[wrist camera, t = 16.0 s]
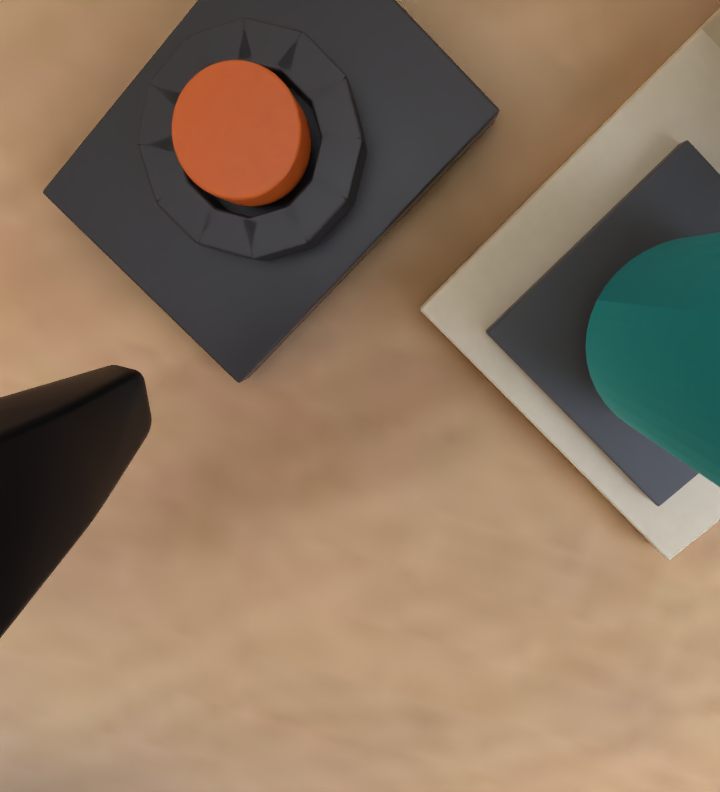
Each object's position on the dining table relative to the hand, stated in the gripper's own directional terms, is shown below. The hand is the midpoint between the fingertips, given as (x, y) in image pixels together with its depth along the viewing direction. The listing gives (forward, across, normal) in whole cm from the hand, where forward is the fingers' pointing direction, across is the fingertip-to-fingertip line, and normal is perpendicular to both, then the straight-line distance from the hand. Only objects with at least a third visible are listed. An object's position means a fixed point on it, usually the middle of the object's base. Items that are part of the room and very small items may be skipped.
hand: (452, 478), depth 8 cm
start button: (+12, +9, 0) cm, 15 cm away
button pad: (+14, +10, +1) cm, 17 cm away
